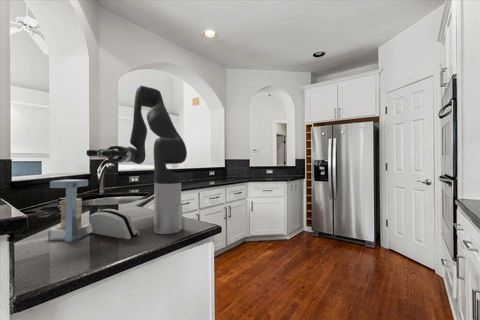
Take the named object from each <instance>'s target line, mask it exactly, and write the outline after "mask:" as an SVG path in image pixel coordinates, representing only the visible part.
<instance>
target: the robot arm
mask: <svg viewBox="0 0 480 320" xmlns="http://www.w3.org/2000/svg"><path fill="white" fill-rule="evenodd" d="M163 99H164V98H163V96H162V93H161V92H160V90H158V89H156V88H153V87H149V86H146V85H145V86H144V85H139V86H137V88H136V91H135V96H134V103H133V104H134V107H133V121H132V122H133V123H132V130H131V133H130V138H129V139H130V140H129V143H130V145H132V146H133V147H132V146H127V147H126V146H121V145H110V146H109V147H108V148H102V149H101V148H100V149H97V150H96V149H87V150H86V156H88V157H97V158H98V159H99V158H101V159H102V158H104V159H107V160H108V161H109V162H111V163H113V164H114V163H116V164H117V163H119V164H120V163H121V164H123V163H134V164H137V165H141V164H143V163H144V162H145V160H146V156H147V155H146V139H147V136H148V128H147V125H148V127H149V129H150V131H151V132H153V134H154V135H155V136H157V137H158V138H156V139H155V140H154V144H153V165H154V167H153V169H154V171H153V173H154V189H153V190H154V195H153V197H154V199H153V200H154V203H153V206H154V207H153V208H154V209H153V233H154V234H159V235H170V234H179V233H180V231H181V230H182V229H183V202H182V176H181V174H179V173H176V172H173V171H171V170H170V169H168V167H167V165H177V164H178V165H179V164H182V163H184V162H185V161H186V159H187V156H188V155H187V153H188V151H187V146H186V144H185V141H184V139H183V138H182V136H181V135H180V134H179V132H178V131H177V129H176V128H175V126H174V123H173V120H172V119H171V116H170V114H169V112H168V110H167V108H166V106H165V103H164V100H163ZM143 107H145V108H150V109H149V110H148V112H147V114H146V121H147V125H146V123H145V120H144V117H143V113H142V108H143Z"/></svg>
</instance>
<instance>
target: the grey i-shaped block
mask: <svg viewBox="0 0 480 320" xmlns="http://www.w3.org/2000/svg"><path fill="white" fill-rule="evenodd" d="M88 186H89V179H59V180H52V181H51V180H50V181H49V188H50V189H65V200H66V213H65V230H61V225H59V226H56V227H53V228H52V229H51V228H50V229H48V230H47V240H48V241H64V243H73V242H75V241H77V240H79V239H80V238H83V237H85V236H87V235H89V234H91V233H93V231H92V227H91V223H88V224H85V225H83V226H81V227H80V228H78V229H76V208H77V199H78V196H77V195H78V193H77V192H78V188H81V187H88Z"/></svg>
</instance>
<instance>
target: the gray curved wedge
mask: <svg viewBox="0 0 480 320" xmlns="http://www.w3.org/2000/svg"><path fill="white" fill-rule="evenodd" d="M88 219H89V222H90V223H91V227H92V234H96V235H101V236H107V237H113V238H118V239H125V240H131V238H132V236H140V232H139V230H137V229H135V226H134V224H133V220H132V218H131V216H130V215H129V214H128V213H125V212H123V211H121V210H118V209H114V208H113V209H112V208H105V209H100V210H98V211H95V212H94V213H92V214H91V215H89V216H88ZM90 223H89V224H90Z"/></svg>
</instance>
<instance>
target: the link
mask: <svg viewBox="0 0 480 320" xmlns="http://www.w3.org/2000/svg"><path fill="white" fill-rule="evenodd" d="M82 202H83V199H82V198H77V208H76V229H78V228H80V227H82V215H83V214H82V211H83V210H82V209H83V208H82V207H83V206H82V205H83V204H82ZM60 204H61V210H60V211H61V213H60V215H61V216H60V226H61V230H65V213H66V199H63V200H61V203H60Z"/></svg>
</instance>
